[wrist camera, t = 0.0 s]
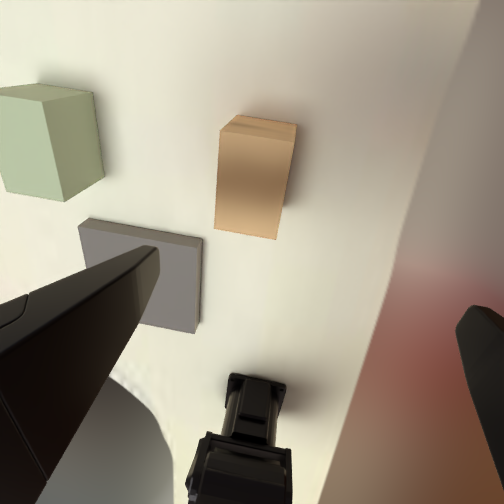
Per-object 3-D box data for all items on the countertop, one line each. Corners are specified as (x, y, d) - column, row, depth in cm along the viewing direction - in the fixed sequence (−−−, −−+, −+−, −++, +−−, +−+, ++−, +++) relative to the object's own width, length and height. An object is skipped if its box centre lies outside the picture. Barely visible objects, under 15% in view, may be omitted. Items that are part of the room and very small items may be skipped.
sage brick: (105, 176, 25) (64, 202, 20) (56, 168, 25) (6, 191, 21) (93, 92, 21) (41, 101, 17) (37, 83, 22) (-27, 90, 17)
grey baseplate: (198, 323, 32) (194, 334, 31) (104, 304, 32) (96, 314, 31) (202, 238, 26) (197, 248, 25) (88, 218, 27) (77, 226, 26)
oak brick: (281, 207, 24) (276, 239, 20) (229, 198, 24) (214, 228, 20) (296, 124, 21) (294, 142, 16) (237, 114, 21) (219, 130, 17)
